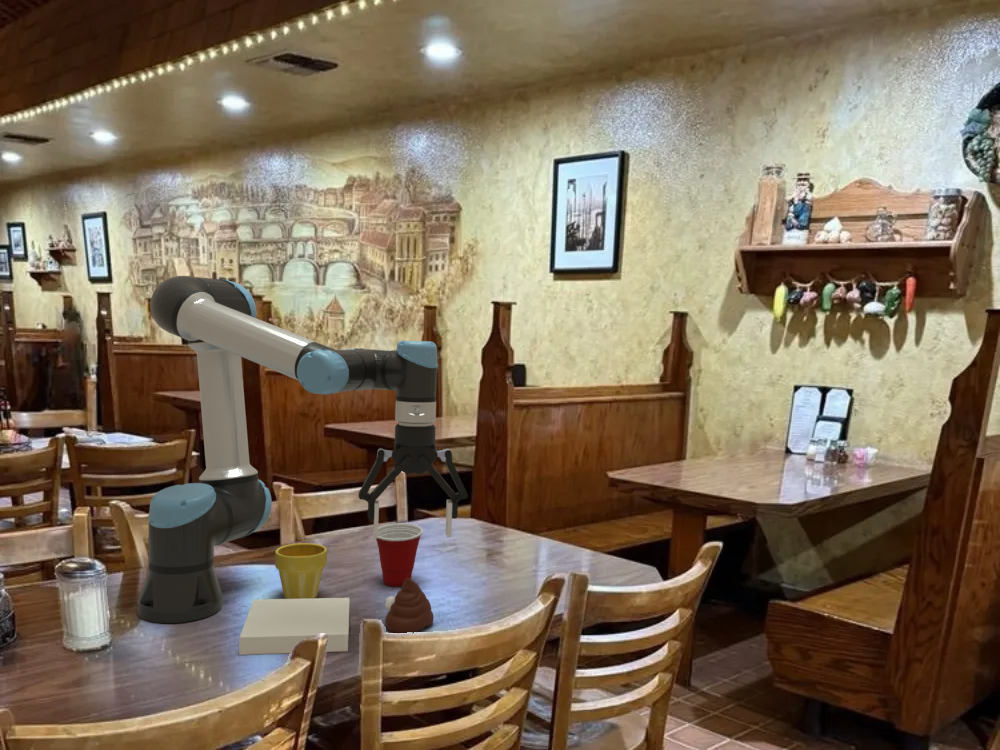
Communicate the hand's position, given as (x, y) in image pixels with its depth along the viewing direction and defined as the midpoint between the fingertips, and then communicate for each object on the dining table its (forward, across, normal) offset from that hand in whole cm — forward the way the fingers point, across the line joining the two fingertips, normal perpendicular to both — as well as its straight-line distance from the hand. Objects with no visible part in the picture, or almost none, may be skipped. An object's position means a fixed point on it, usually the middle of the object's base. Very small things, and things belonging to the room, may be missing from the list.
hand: (412, 536), depth 145 cm
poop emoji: (+18, 0, 0) cm, 18 cm away
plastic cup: (+17, -1, +24) cm, 30 cm away
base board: (+17, -20, -2) cm, 27 cm away
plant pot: (+17, -21, +17) cm, 32 cm away
